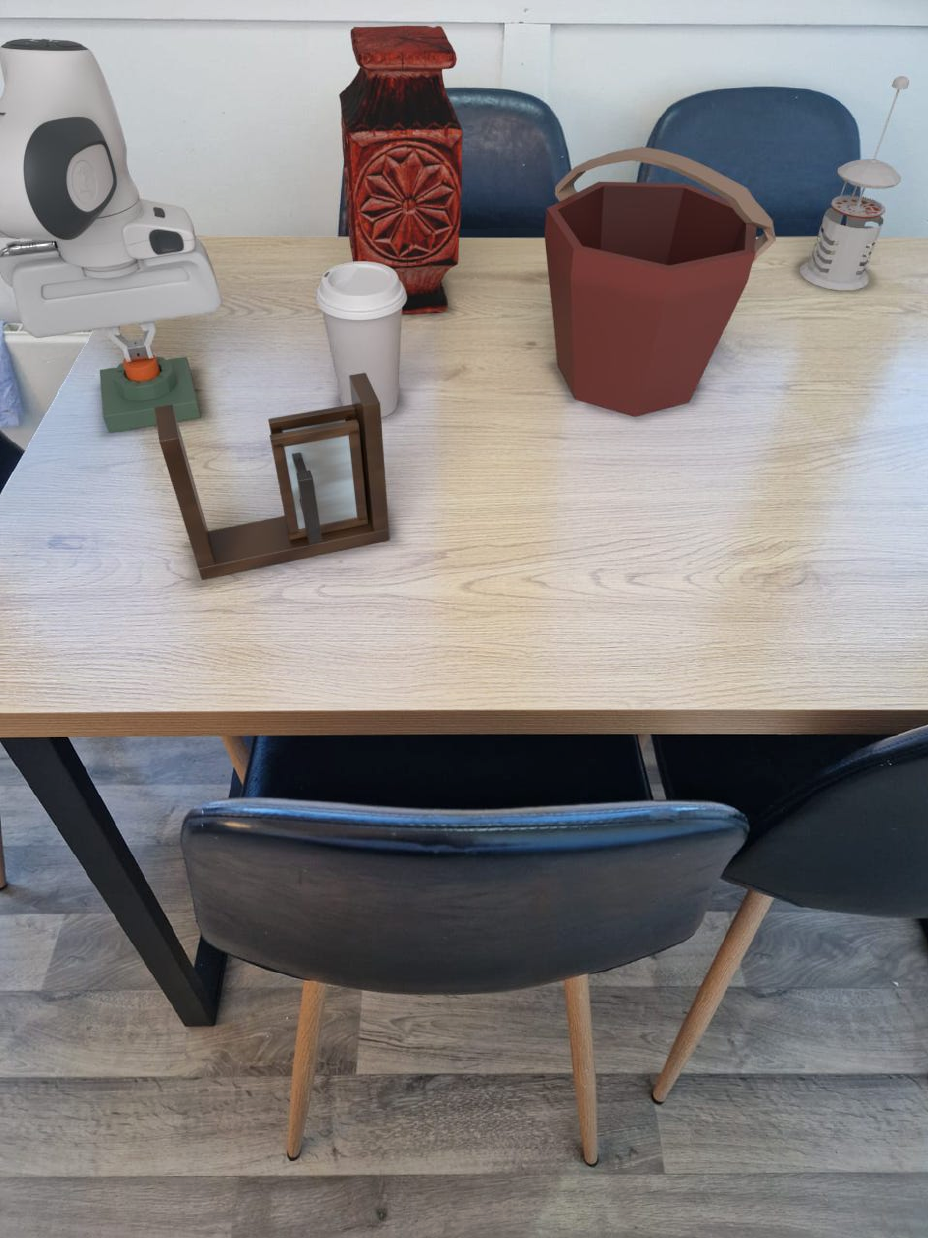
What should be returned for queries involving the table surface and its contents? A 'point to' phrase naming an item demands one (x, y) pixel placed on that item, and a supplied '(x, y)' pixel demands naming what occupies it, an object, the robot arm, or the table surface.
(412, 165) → the vase
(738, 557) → the table surface
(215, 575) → the window frame
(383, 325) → the coffee cup
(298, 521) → the sliding window sash
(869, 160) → the french press
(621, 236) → the bucket
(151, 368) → the button
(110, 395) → the button block
